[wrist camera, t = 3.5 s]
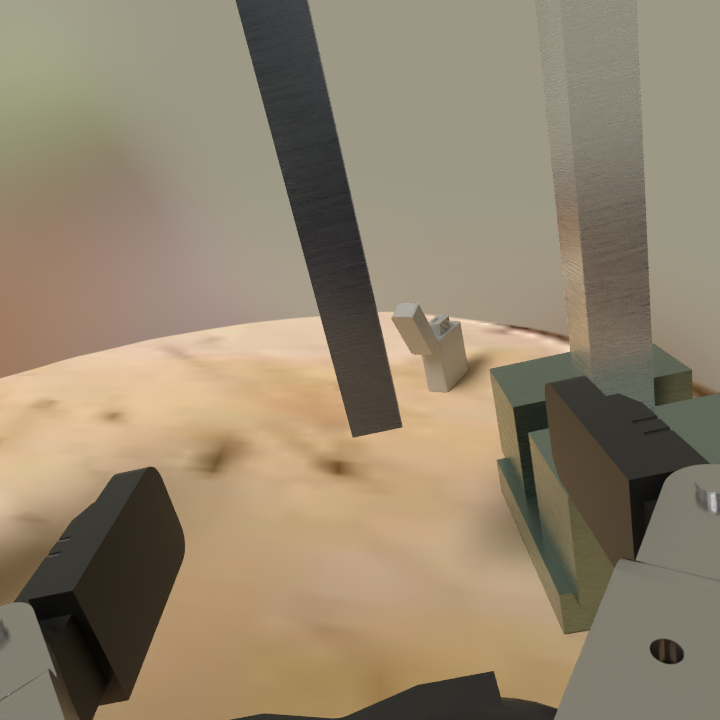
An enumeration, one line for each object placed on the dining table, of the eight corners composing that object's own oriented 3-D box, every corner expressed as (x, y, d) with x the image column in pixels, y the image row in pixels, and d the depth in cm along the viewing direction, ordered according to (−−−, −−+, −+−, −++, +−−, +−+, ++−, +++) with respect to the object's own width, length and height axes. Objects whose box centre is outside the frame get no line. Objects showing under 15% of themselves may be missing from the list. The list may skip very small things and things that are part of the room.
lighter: (450, 368, 49) (433, 277, 46) (469, 369, 48) (453, 276, 45) (410, 409, 44) (388, 309, 41) (430, 410, 43) (409, 308, 40)
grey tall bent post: (811, 606, 22) (887, -437, 12) (329, 695, 23) (30, -195, 13) (624, 416, 37) (588, -122, 27) (336, 475, 38) (198, -20, 28)
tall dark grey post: (402, 427, 23) (249, -259, 15) (352, 437, 23) (172, -238, 15) (389, 359, 29) (273, -160, 20) (349, 367, 29) (218, -145, 20)
